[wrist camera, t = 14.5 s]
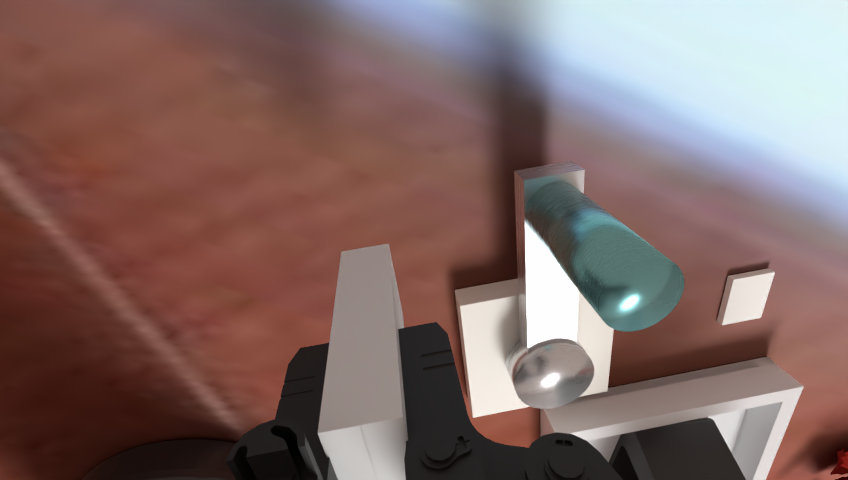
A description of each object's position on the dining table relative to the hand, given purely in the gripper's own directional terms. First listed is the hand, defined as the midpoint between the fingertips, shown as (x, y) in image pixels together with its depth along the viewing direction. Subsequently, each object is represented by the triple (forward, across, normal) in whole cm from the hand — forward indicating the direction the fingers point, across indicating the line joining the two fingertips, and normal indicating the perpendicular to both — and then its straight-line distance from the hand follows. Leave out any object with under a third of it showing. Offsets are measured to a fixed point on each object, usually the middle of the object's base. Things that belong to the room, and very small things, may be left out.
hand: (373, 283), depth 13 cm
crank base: (+6, +12, -9) cm, 16 cm away
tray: (+6, +15, -22) cm, 28 cm away
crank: (+4, +7, -5) cm, 10 cm away
